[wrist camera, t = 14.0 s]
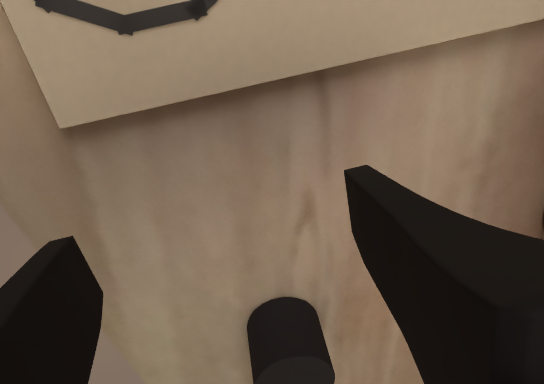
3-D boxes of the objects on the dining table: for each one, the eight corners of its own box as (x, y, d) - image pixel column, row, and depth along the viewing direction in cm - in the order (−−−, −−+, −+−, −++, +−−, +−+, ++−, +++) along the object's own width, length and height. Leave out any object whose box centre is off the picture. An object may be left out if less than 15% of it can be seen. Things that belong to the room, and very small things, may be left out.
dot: (254, 355, 27) (263, 418, 24) (239, 306, 25) (246, 368, 22) (321, 339, 27) (339, 400, 24) (312, 289, 25) (330, 348, 22)
